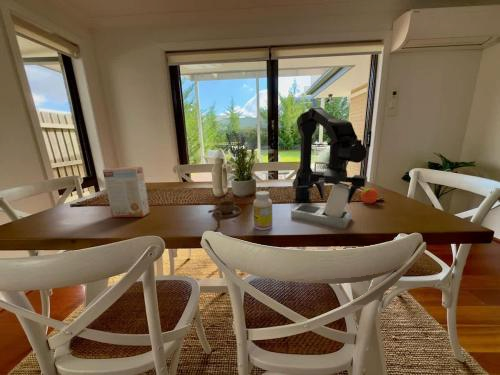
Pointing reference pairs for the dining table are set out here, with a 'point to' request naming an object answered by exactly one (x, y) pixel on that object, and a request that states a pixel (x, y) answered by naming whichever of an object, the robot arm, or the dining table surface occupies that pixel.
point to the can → (337, 200)
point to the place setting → (225, 211)
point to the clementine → (369, 195)
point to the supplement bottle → (262, 211)
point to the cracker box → (126, 191)
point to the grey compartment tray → (320, 215)
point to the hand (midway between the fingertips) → (335, 201)
